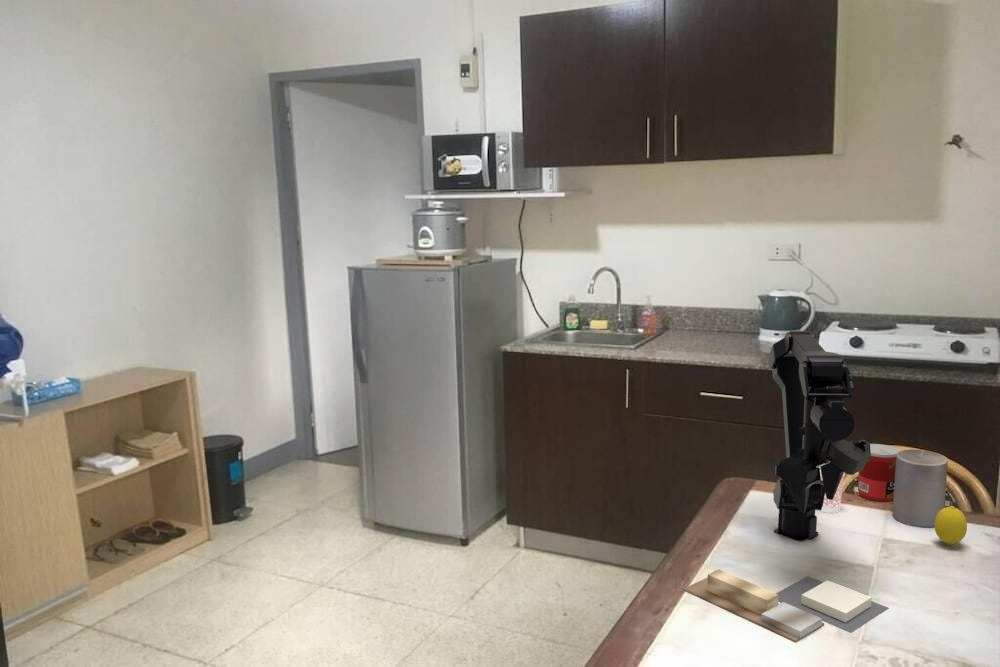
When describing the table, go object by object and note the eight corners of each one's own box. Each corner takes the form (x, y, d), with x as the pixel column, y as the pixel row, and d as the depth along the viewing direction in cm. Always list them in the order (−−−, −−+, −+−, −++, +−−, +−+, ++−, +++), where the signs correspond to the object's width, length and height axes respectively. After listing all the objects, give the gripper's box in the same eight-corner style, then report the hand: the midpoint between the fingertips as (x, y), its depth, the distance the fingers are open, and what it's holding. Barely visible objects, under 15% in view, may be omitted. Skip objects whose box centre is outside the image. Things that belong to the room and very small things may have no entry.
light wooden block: (701, 593, 146) (702, 577, 145) (723, 582, 150) (723, 566, 149) (799, 638, 131) (800, 620, 131) (821, 625, 135) (822, 608, 134)
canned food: (893, 504, 185) (897, 456, 183) (854, 498, 189) (857, 451, 187) (898, 493, 191) (901, 446, 189) (860, 487, 195) (863, 441, 193)
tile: (801, 594, 142) (846, 613, 136) (827, 580, 147) (871, 597, 140) (800, 604, 142) (845, 623, 136) (826, 589, 147) (871, 607, 141)
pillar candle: (908, 506, 184) (912, 440, 181) (953, 520, 176) (958, 451, 173) (882, 517, 178) (886, 449, 175) (927, 532, 170) (932, 461, 168)
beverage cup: (843, 505, 185) (847, 444, 182) (842, 516, 179) (846, 452, 177) (814, 501, 187) (817, 441, 185) (812, 511, 182) (815, 449, 179)
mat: (768, 599, 145) (768, 597, 145) (807, 578, 152) (807, 575, 152) (850, 635, 133) (851, 632, 133) (889, 610, 140) (889, 607, 140)
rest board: (683, 592, 148) (683, 588, 148) (712, 578, 153) (712, 574, 152) (795, 645, 131) (795, 640, 131) (824, 627, 136) (824, 623, 135)
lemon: (969, 552, 161) (972, 512, 160) (937, 550, 162) (941, 510, 161) (959, 539, 166) (963, 501, 165) (929, 538, 168) (932, 500, 166)
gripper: (833, 444, 140) (829, 533, 142) (890, 422, 151) (884, 505, 154) (775, 430, 148) (771, 513, 151) (832, 410, 160) (828, 488, 162)
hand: (816, 505), depth 154 cm, fingers open, 9 cm apart
